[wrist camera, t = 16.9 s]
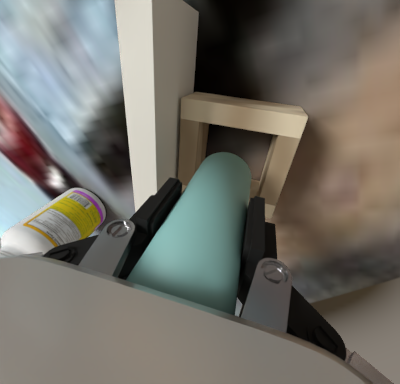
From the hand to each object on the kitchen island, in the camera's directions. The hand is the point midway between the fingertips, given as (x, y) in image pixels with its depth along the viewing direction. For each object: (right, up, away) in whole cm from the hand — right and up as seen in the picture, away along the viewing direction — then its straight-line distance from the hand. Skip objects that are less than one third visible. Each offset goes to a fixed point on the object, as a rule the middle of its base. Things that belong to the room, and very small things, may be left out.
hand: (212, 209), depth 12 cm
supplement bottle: (-17, -1, +19) cm, 26 cm away
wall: (-3, +6, +10) cm, 12 cm away
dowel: (+1, +2, +4) cm, 4 cm away
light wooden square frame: (+3, +5, +8) cm, 10 cm away
